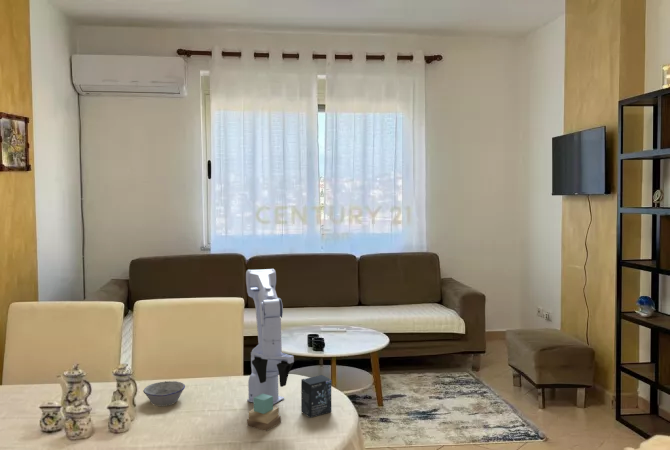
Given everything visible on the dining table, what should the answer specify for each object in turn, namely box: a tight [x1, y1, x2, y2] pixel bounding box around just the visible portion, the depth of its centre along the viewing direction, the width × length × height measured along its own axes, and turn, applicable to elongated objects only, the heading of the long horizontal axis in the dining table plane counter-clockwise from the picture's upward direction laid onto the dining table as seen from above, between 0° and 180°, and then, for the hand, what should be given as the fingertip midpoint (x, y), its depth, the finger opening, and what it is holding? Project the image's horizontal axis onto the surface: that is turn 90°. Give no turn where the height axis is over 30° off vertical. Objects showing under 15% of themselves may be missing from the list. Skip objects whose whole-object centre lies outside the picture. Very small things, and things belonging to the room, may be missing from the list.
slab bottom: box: [246, 415, 282, 432], centre depth 170 cm, size 7×7×2 cm
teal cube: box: [253, 394, 274, 414], centre depth 169 cm, size 4×4×4 cm
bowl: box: [142, 380, 186, 407], centre depth 188 cm, size 13×13×5 cm
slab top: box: [248, 405, 280, 424], centre depth 170 cm, size 6×6×2 cm
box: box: [300, 374, 332, 418], centre depth 178 cm, size 8×6×11 cm
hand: (272, 384), depth 174 cm, fingers open, 7 cm apart
